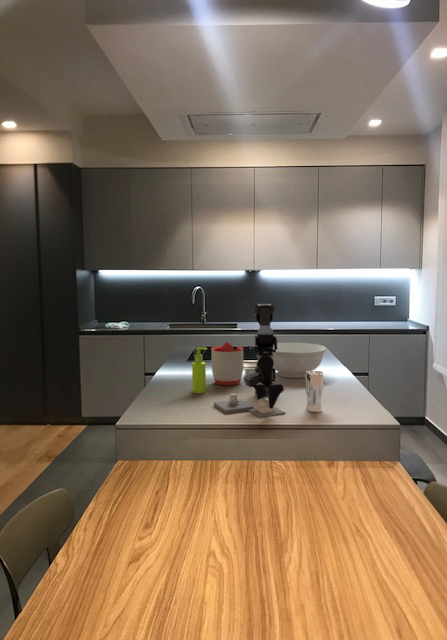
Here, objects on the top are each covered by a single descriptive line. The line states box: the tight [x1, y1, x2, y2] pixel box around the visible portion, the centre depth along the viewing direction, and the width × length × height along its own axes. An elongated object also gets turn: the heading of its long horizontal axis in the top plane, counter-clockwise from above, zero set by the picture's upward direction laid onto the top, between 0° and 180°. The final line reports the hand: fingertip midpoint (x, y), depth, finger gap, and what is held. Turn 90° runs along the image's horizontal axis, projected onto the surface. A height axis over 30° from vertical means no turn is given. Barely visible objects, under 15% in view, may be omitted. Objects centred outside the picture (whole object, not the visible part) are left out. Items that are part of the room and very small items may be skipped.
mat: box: [247, 406, 286, 419], centre depth 196 cm, size 11×11×1 cm
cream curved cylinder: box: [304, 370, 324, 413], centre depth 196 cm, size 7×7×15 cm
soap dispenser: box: [191, 346, 208, 394], centre depth 227 cm, size 6×7×20 cm
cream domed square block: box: [255, 397, 276, 413], centre depth 196 cm, size 6×6×4 cm
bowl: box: [272, 342, 327, 379], centre depth 258 cm, size 32×32×15 cm
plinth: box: [213, 392, 255, 415], centre depth 201 cm, size 12×12×6 cm
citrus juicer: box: [210, 341, 244, 387], centre depth 243 cm, size 16×17×20 cm
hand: (265, 405), depth 196 cm, fingers open, 9 cm apart
